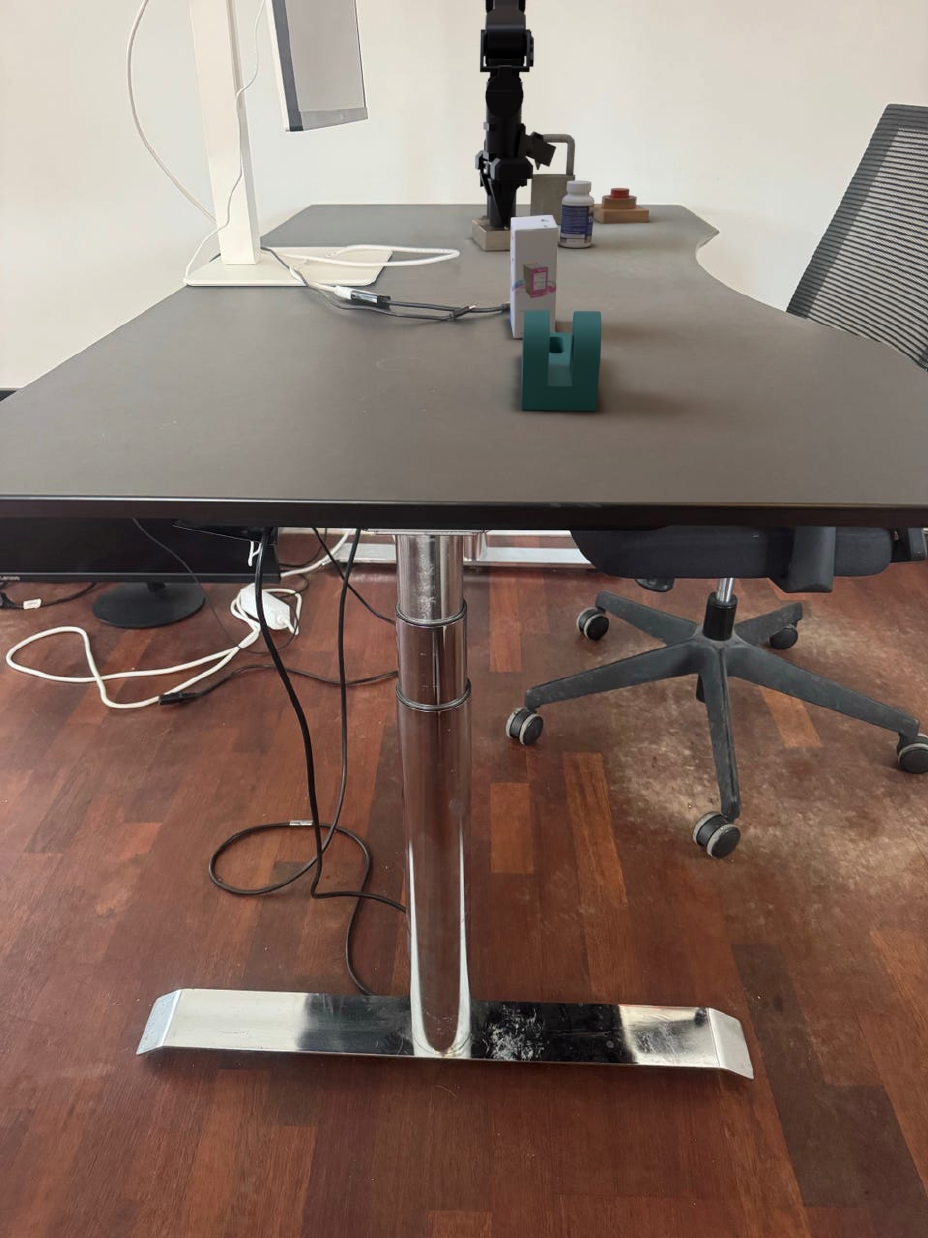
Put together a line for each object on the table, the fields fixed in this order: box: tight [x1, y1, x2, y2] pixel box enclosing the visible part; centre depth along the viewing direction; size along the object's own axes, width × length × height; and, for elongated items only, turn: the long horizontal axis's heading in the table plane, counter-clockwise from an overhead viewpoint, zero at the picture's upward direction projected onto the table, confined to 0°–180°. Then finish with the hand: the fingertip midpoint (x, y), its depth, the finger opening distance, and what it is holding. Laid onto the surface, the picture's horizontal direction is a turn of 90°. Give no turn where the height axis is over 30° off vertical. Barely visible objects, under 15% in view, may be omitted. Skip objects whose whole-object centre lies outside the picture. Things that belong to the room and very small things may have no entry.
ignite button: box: [609, 187, 631, 198], centre depth 169 cm, size 4×4×2 cm
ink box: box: [509, 215, 559, 339], centre depth 100 cm, size 9×5×12 cm, turn 1°
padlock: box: [529, 133, 576, 225], centre depth 164 cm, size 4×8×15 cm, turn 85°
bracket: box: [520, 310, 603, 412], centre depth 85 cm, size 18×7×8 cm, turn 177°
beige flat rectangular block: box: [471, 219, 511, 252], centre depth 149 cm, size 12×10×3 cm
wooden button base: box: [593, 194, 650, 225], centre depth 170 cm, size 10×9×4 cm
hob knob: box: [489, 194, 515, 227], centre depth 146 cm, size 4×4×5 cm
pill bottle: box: [559, 180, 595, 249], centre depth 145 cm, size 5×5×10 cm
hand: (501, 221), depth 147 cm, fingers closed on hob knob, 4 cm apart
